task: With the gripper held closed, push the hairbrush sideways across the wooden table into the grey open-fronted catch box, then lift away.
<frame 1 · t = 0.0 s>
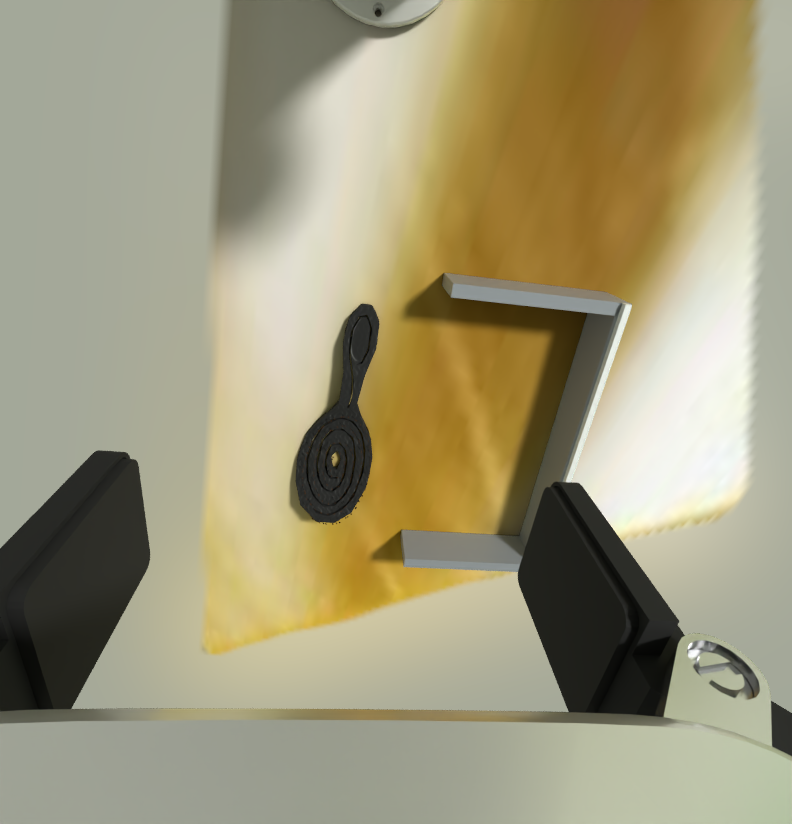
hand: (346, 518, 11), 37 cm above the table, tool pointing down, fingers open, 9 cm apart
hairbrush: (344, 413, 51), on the table
catch box: (491, 428, 53), on the table
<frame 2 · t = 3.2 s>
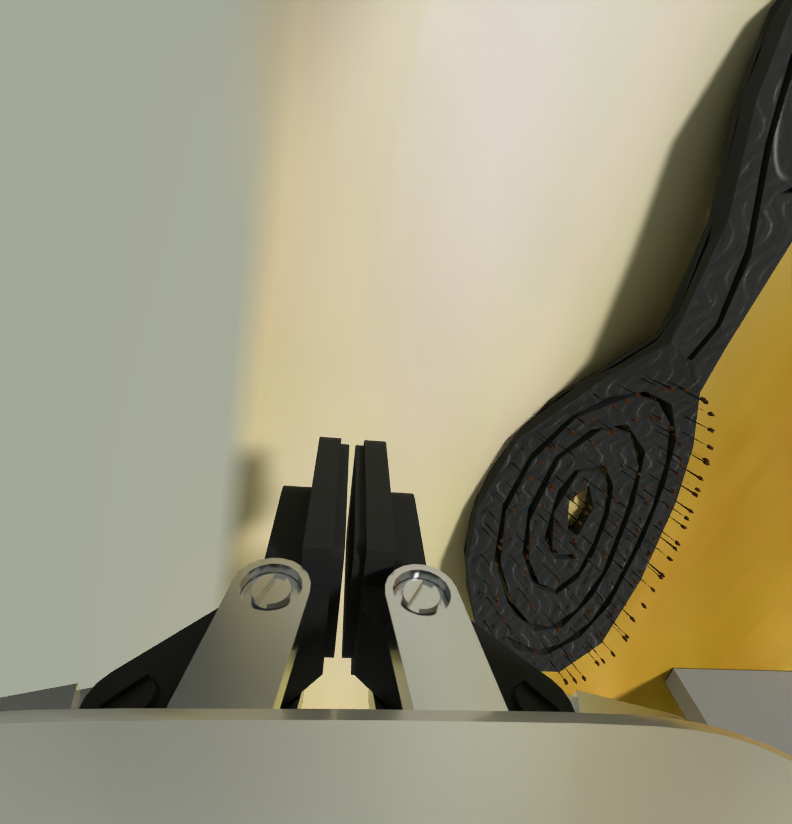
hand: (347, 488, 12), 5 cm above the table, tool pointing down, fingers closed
hairbrush: (622, 381, 18), on the table
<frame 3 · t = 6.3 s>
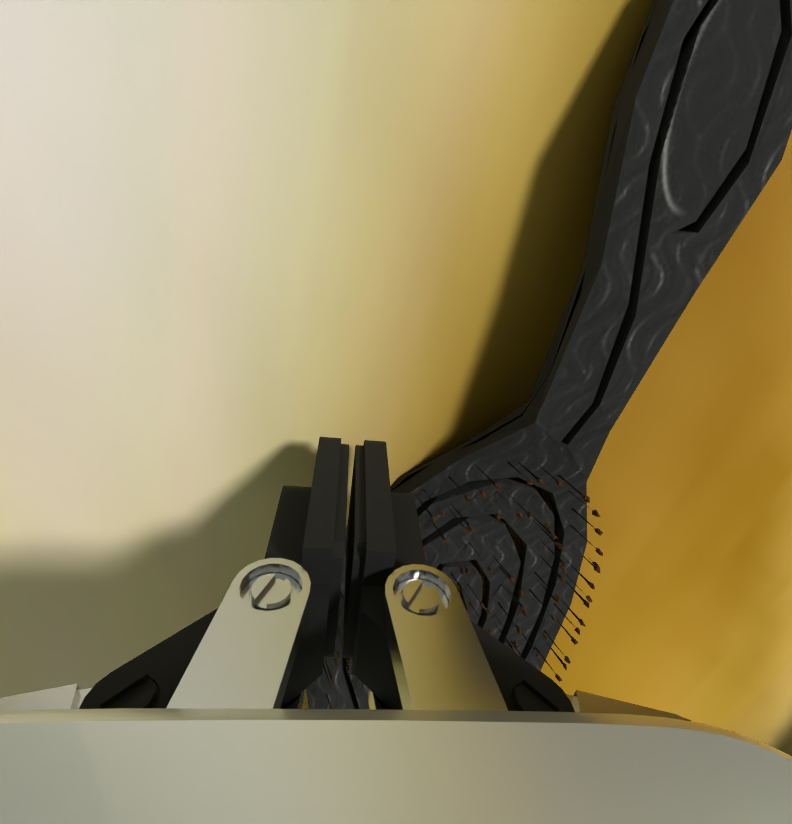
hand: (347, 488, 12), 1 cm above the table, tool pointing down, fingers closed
hairbrush: (501, 456, 14), on the table
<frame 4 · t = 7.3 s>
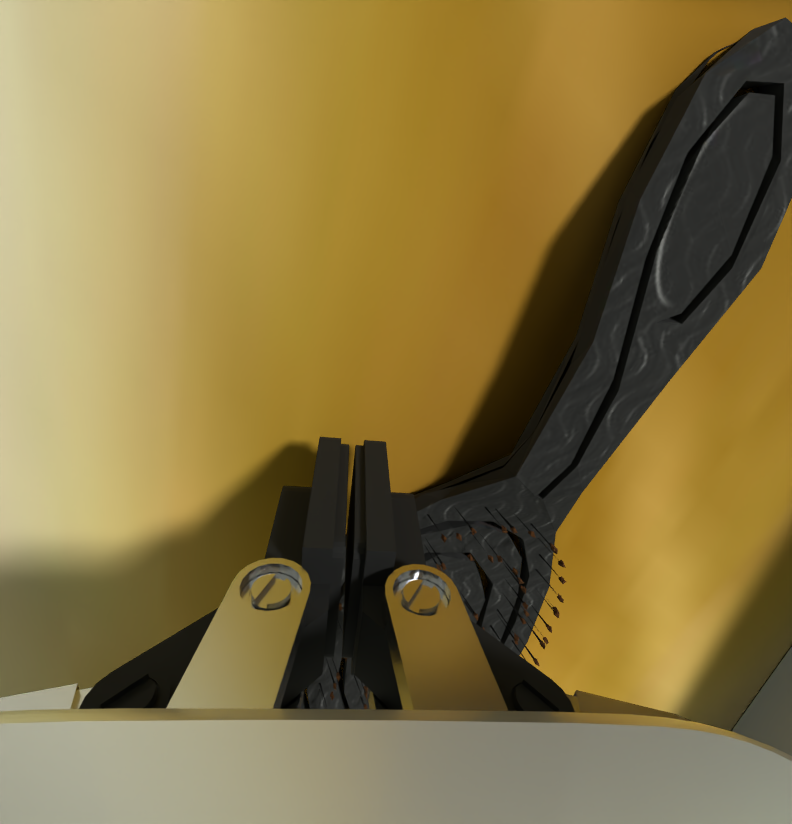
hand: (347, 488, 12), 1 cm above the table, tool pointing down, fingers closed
hairbrush: (478, 496, 15), on the table
catch box: (695, 486, 14), on the table
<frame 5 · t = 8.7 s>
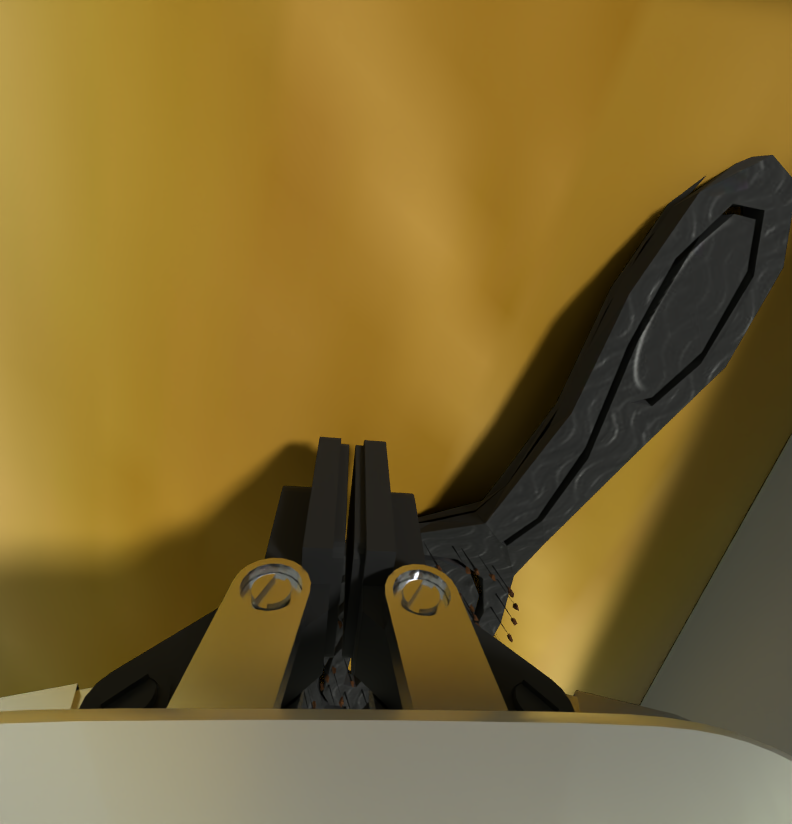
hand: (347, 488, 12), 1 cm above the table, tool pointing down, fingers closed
hairbrush: (445, 531, 15), on the table
catch box: (543, 477, 14), on the table
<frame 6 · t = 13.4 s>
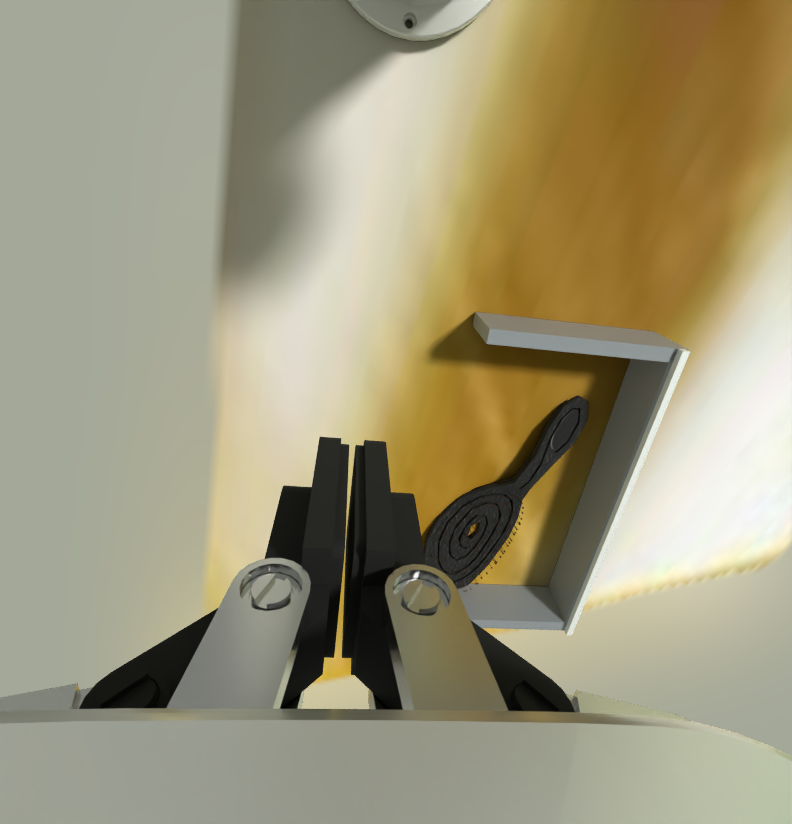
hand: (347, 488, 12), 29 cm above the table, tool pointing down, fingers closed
hairbrush: (500, 488, 49), on the table
catch box: (521, 476, 48), on the table
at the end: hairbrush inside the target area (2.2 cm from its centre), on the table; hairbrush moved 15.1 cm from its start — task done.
